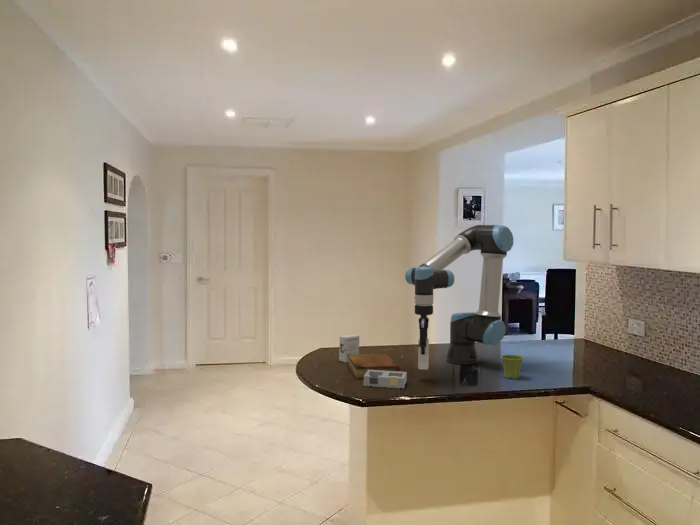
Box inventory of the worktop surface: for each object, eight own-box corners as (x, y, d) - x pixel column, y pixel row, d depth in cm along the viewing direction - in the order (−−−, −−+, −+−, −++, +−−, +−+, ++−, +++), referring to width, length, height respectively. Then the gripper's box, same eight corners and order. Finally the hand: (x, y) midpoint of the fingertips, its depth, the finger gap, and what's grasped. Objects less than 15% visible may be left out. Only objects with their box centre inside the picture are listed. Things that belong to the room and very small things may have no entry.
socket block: (406, 381, 247) (406, 371, 247) (403, 388, 236) (404, 378, 236) (368, 379, 250) (368, 369, 250) (363, 386, 239) (363, 375, 239)
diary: (399, 379, 253) (400, 366, 253) (355, 380, 250) (356, 366, 250) (387, 366, 276) (388, 353, 276) (347, 366, 273) (347, 354, 273)
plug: (428, 367, 252) (428, 336, 251) (427, 369, 248) (428, 338, 247) (418, 366, 253) (419, 336, 252) (418, 369, 249) (418, 338, 248)
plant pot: (495, 375, 260) (496, 355, 260) (513, 373, 264) (514, 353, 264) (509, 380, 252) (510, 360, 251) (527, 378, 256) (528, 358, 255)
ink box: (352, 358, 288) (353, 334, 287) (359, 360, 284) (360, 335, 283) (338, 360, 283) (338, 335, 282) (345, 363, 279) (345, 337, 278)
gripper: (416, 301, 257) (416, 355, 259) (412, 307, 241) (412, 365, 242) (434, 301, 256) (433, 356, 258) (431, 308, 239) (431, 366, 241)
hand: (423, 360), depth 250 cm, fingers closed on plug, 4 cm apart
